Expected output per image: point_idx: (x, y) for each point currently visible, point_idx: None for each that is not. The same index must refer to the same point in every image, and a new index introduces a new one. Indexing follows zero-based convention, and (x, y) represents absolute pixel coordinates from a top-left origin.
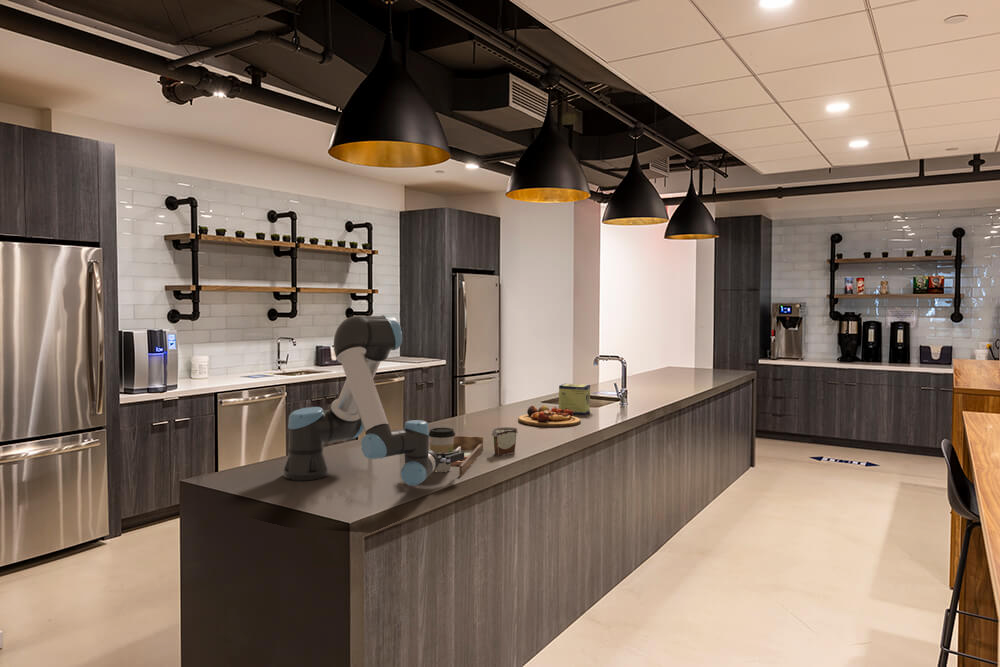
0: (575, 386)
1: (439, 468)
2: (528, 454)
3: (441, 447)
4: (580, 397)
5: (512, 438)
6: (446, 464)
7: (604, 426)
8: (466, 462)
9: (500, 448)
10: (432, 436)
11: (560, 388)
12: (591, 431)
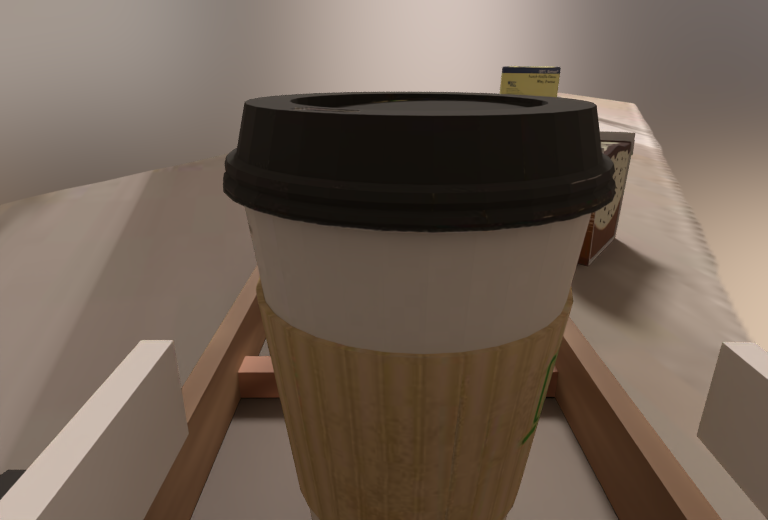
0: (537, 67)
1: None
2: (685, 244)
3: (466, 383)
4: (547, 89)
5: (621, 179)
6: None
7: (646, 142)
8: (657, 445)
9: (596, 229)
10: (303, 211)
11: (505, 72)
12: (651, 152)
